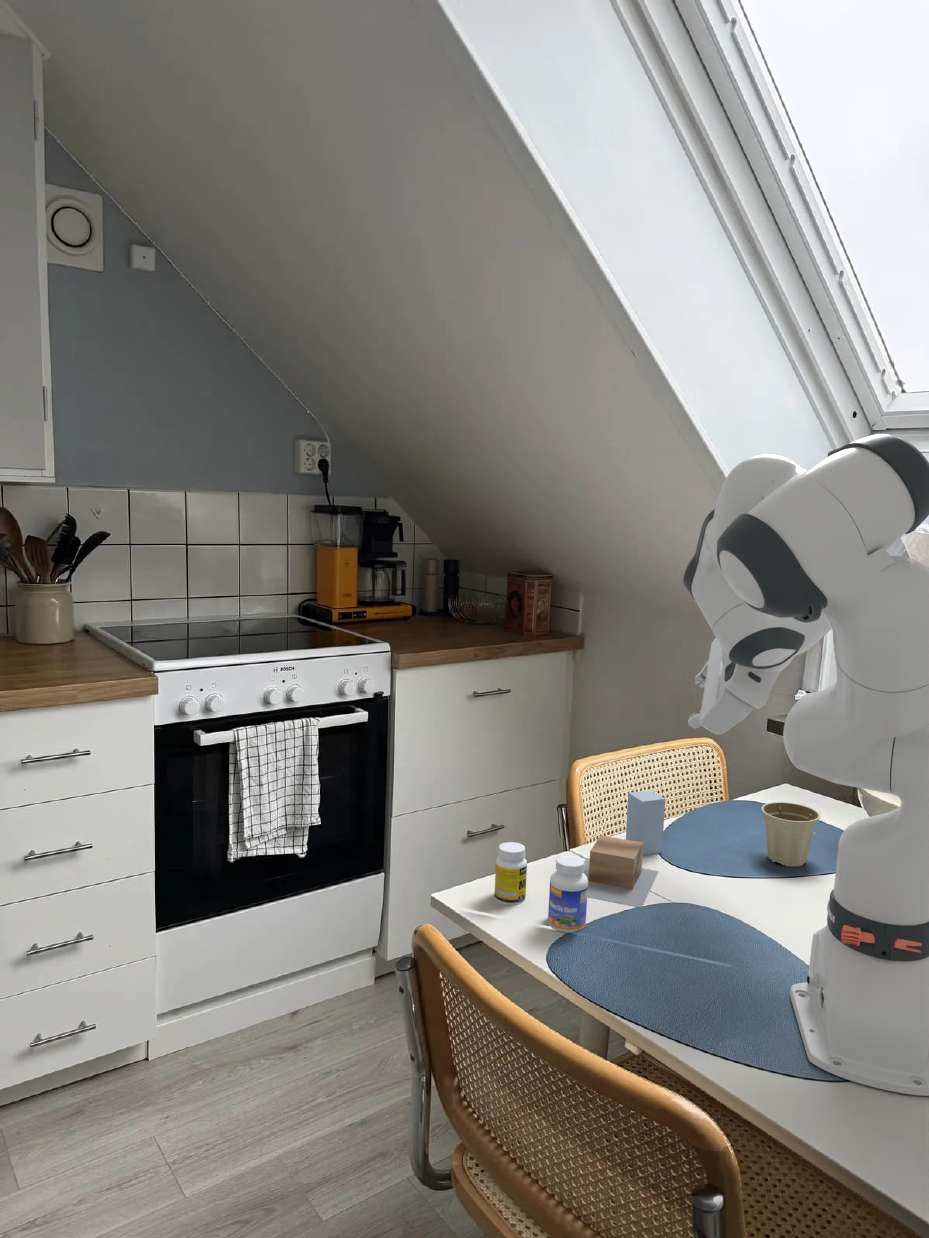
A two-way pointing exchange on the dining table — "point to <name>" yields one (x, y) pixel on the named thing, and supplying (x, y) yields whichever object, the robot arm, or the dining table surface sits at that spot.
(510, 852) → the supplement bottle
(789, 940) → the dining table surface
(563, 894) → the pill bottle
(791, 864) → the flower pot
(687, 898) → the dining table surface
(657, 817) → the slate pillar
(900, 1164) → the dining table surface
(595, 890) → the mat
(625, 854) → the walnut block
